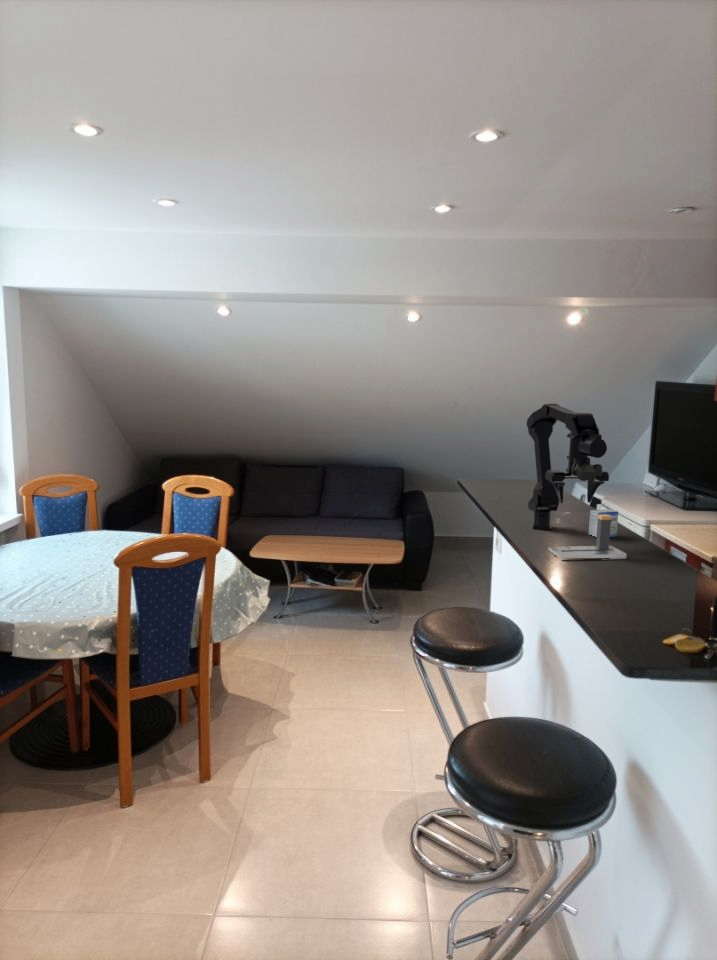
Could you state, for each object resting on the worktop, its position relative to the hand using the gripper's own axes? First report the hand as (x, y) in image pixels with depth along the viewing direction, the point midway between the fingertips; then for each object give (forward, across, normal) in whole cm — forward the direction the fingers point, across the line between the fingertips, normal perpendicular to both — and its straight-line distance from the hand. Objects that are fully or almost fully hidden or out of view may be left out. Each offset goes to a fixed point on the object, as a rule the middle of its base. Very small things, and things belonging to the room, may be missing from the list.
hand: (575, 502), depth 204 cm
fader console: (+13, -2, -14) cm, 19 cm away
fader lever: (+11, +3, -14) cm, 18 cm away
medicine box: (+13, +14, +7) cm, 20 cm away
